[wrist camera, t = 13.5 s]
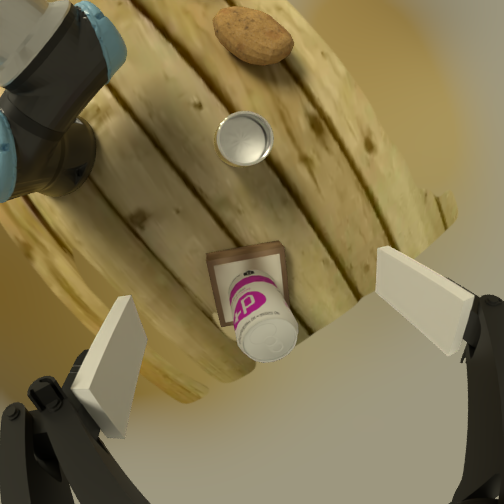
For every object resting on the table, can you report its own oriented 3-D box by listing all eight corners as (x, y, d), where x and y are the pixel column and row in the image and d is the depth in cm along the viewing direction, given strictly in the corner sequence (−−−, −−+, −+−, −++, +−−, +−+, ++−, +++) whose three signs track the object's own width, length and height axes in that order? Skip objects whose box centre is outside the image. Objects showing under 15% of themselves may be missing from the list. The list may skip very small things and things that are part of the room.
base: (219, 316, 53) (221, 327, 49) (206, 253, 49) (206, 261, 45) (284, 303, 54) (290, 313, 50) (278, 240, 50) (284, 247, 46)
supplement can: (218, 288, 46) (223, 341, 32) (256, 258, 46) (278, 301, 32) (247, 319, 49) (263, 375, 35) (284, 291, 48) (313, 340, 34)
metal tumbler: (251, 123, 43) (270, 106, 29) (257, 163, 45) (279, 163, 31) (209, 129, 42) (210, 113, 28) (216, 169, 44) (219, 172, 30)
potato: (231, 10, 35) (236, -12, 27) (295, 48, 39) (309, 31, 32) (198, 44, 37) (197, 24, 29) (265, 83, 41) (276, 69, 33)
